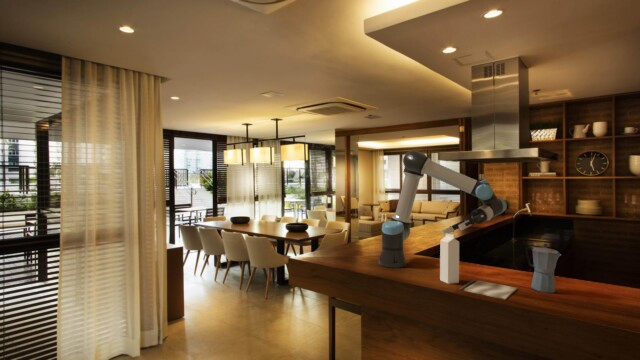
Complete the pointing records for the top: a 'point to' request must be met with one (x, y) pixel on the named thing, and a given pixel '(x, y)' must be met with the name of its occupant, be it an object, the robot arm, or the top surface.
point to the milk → (449, 259)
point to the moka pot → (543, 268)
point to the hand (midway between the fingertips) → (451, 230)
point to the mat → (489, 289)
